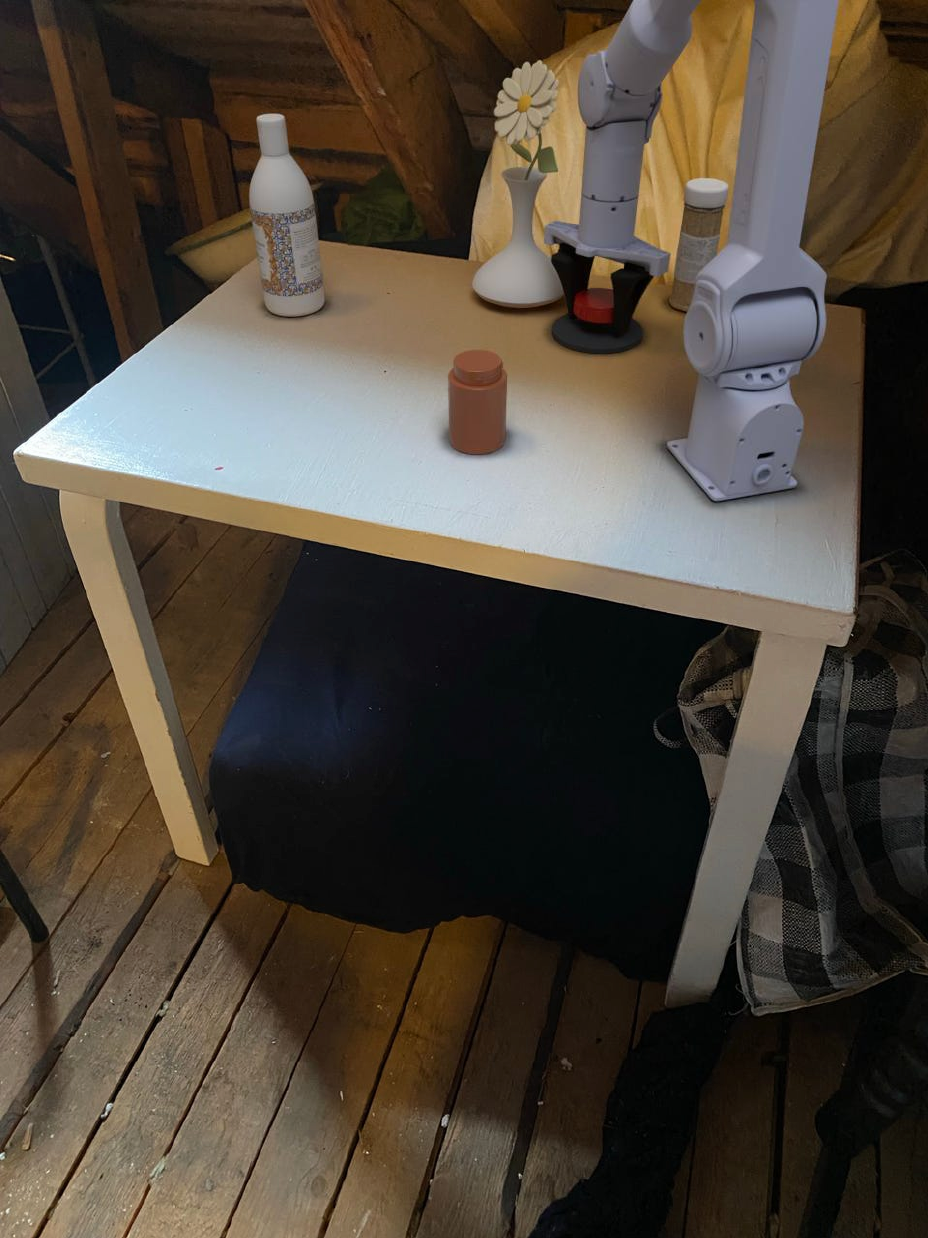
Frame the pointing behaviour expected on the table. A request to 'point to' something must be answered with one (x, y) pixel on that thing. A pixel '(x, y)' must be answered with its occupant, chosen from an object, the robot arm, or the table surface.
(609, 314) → the lid
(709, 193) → the sprinkles bottle
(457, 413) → the jar
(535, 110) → the flower in vase
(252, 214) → the bath foam
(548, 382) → the table surface
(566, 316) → the coaster
